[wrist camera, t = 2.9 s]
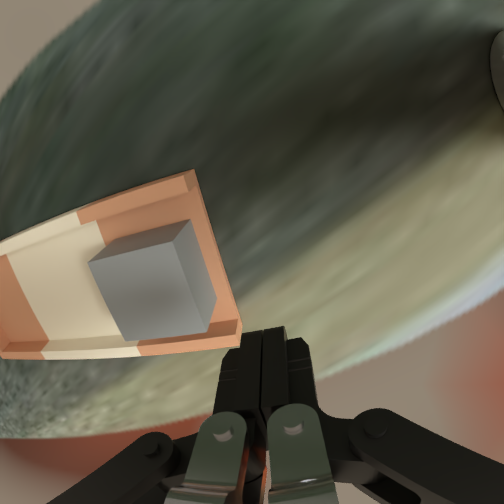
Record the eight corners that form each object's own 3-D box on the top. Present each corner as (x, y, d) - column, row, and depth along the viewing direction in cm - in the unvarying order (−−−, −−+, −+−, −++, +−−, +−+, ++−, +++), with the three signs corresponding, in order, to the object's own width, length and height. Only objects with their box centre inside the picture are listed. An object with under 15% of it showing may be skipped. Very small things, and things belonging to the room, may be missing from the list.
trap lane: (194, 168, 19) (183, 175, 17) (242, 324, 24) (239, 345, 21) (-33, 257, 24) (-47, 266, 21) (13, 346, 28) (2, 358, 26)
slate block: (190, 218, 20) (172, 241, 16) (217, 298, 22) (206, 332, 18) (114, 239, 21) (87, 262, 17) (144, 310, 23) (125, 341, 19)
